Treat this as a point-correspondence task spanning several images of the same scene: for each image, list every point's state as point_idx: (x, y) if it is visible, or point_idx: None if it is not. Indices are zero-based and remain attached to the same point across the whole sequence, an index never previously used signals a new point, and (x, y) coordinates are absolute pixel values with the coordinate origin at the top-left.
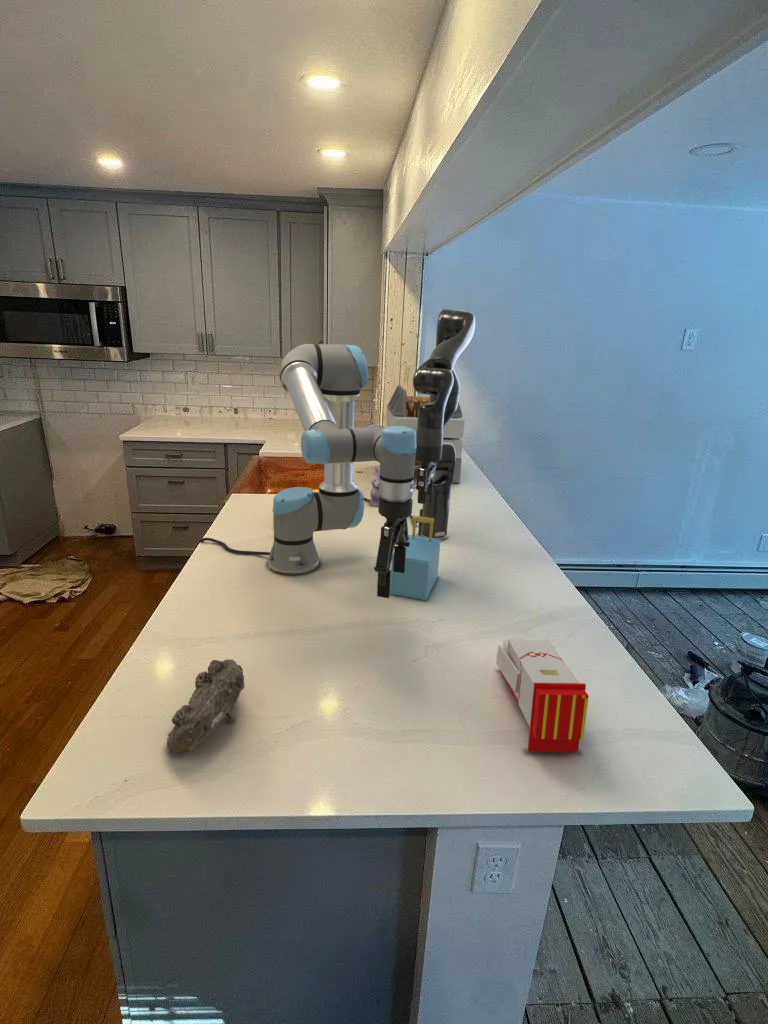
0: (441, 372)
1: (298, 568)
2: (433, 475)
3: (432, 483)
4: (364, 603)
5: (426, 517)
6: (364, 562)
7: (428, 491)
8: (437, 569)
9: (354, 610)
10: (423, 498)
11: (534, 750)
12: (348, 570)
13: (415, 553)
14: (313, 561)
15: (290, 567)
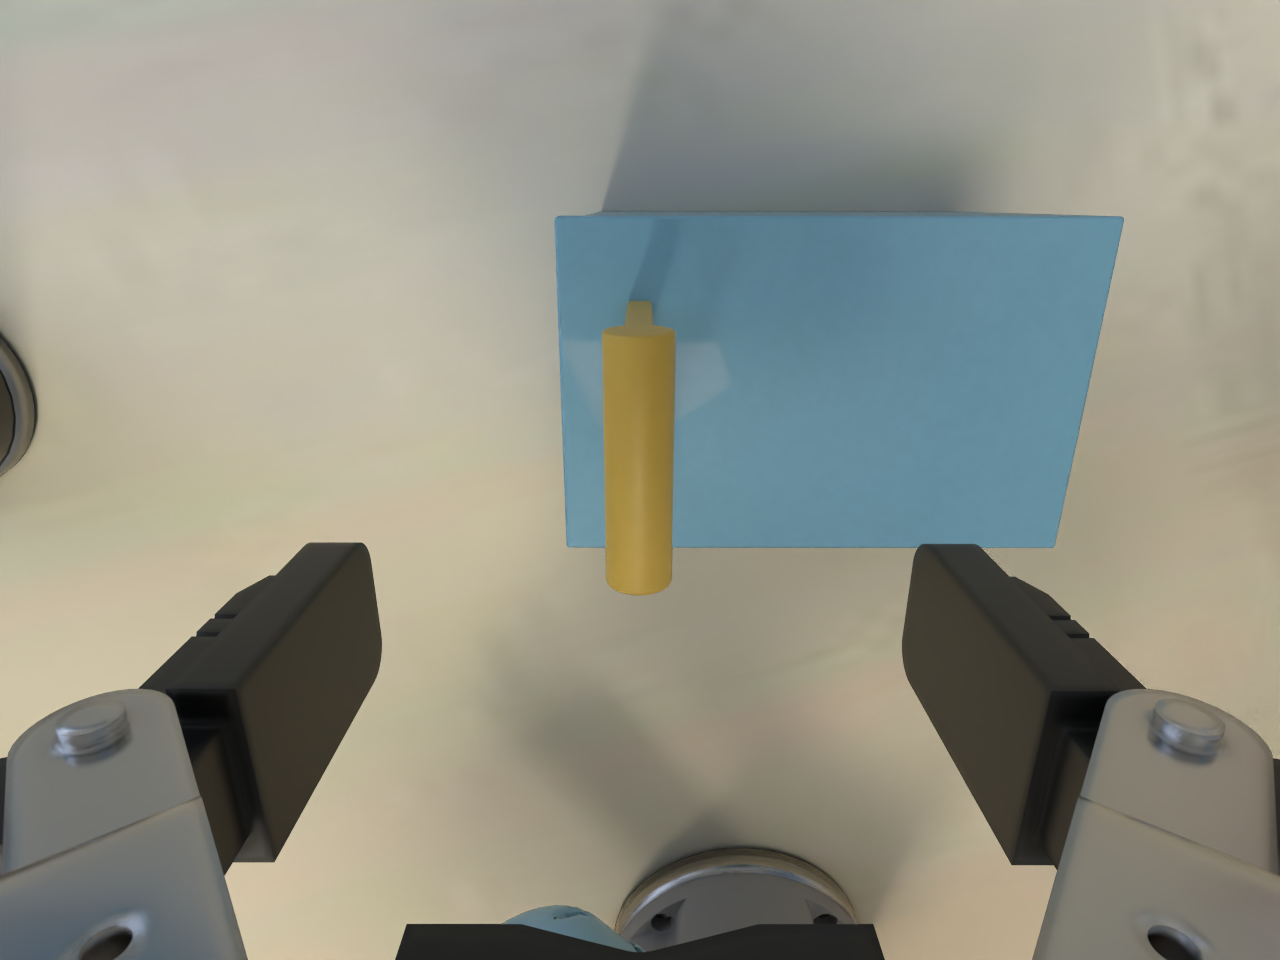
0: None
1: (846, 916)
2: (229, 905)
3: (242, 681)
4: (1063, 534)
5: (637, 435)
6: (577, 673)
7: (351, 630)
8: (622, 212)
9: (1147, 557)
10: (1073, 624)
11: None
12: (709, 714)
13: (971, 377)
14: (774, 892)
15: None
